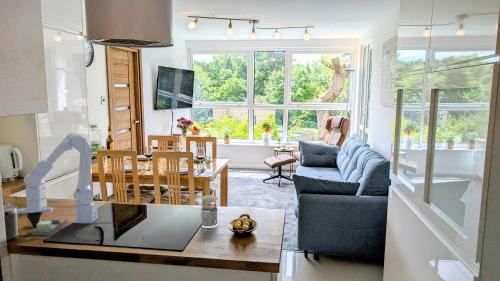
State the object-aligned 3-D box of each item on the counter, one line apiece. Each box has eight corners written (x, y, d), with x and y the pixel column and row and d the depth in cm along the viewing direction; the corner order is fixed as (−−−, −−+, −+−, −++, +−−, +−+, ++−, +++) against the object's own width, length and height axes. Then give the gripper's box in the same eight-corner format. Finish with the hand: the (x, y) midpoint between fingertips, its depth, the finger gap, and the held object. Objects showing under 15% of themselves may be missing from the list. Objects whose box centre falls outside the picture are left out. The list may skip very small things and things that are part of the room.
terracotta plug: (42, 223, 172) (42, 216, 171) (37, 227, 168) (37, 219, 167) (32, 223, 172) (32, 215, 171) (27, 226, 168) (26, 218, 167)
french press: (223, 223, 176) (223, 175, 173) (210, 231, 166) (211, 180, 162) (206, 220, 181) (206, 172, 177) (193, 228, 170) (193, 177, 166)
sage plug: (52, 228, 166) (51, 220, 165) (48, 232, 162) (48, 224, 161) (40, 229, 165) (40, 221, 164) (37, 232, 161) (36, 224, 160)
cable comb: (67, 222, 174) (67, 217, 174) (49, 235, 158) (49, 230, 158) (51, 222, 174) (51, 217, 174) (31, 234, 159) (31, 229, 158)
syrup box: (47, 205, 198) (45, 180, 195) (40, 209, 192) (38, 183, 190) (37, 205, 198) (36, 180, 196) (30, 208, 192) (28, 182, 190)
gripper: (54, 196, 166) (55, 223, 168) (19, 197, 163) (21, 225, 165) (48, 200, 159) (50, 229, 161) (13, 202, 156) (15, 231, 158)
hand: (35, 227), depth 162 cm, fingers closed
